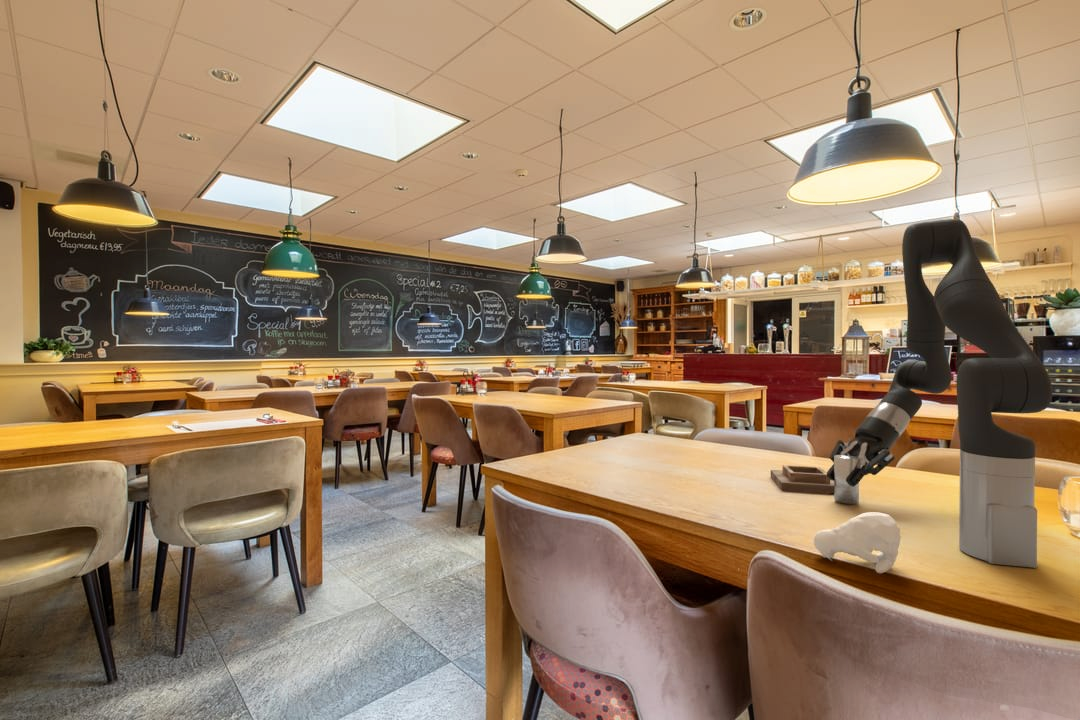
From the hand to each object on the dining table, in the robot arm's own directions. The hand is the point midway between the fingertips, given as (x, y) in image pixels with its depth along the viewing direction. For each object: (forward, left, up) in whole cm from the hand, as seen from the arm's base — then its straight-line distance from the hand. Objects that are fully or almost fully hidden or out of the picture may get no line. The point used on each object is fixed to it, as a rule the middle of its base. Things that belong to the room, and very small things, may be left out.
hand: (839, 480), depth 111 cm
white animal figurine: (-35, +8, -5) cm, 37 cm away
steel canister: (+1, -2, -5) cm, 5 cm away
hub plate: (+15, +3, -5) cm, 16 cm away
